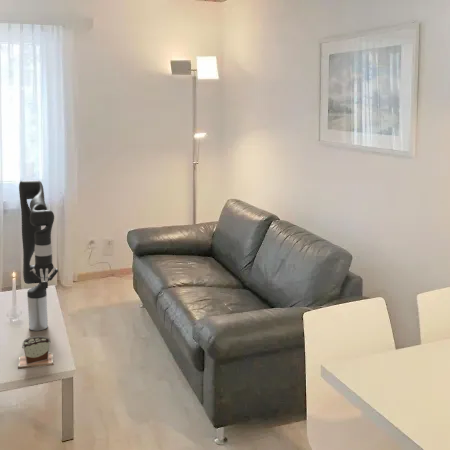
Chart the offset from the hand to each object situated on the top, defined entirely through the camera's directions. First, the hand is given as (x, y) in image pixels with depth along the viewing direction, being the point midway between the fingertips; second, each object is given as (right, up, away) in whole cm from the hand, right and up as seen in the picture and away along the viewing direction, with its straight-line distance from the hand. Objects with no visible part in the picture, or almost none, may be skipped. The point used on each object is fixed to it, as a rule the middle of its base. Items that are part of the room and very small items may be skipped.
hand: (44, 289), depth 268 cm
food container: (-2, -31, -7) cm, 32 cm away
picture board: (-2, -32, -8) cm, 33 cm away
